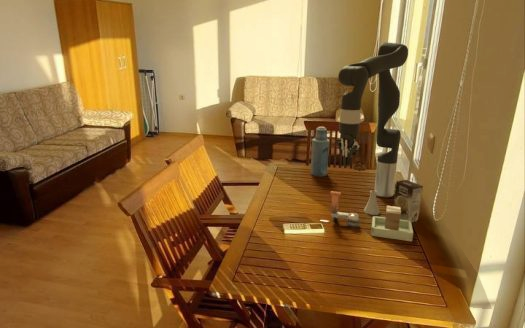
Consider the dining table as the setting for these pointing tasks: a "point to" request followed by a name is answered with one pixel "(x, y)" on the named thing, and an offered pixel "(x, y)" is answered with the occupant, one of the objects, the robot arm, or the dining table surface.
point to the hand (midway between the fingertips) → (346, 165)
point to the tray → (380, 231)
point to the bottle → (320, 153)
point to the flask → (372, 204)
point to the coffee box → (408, 199)
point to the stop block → (392, 217)
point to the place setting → (358, 165)
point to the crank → (334, 208)
